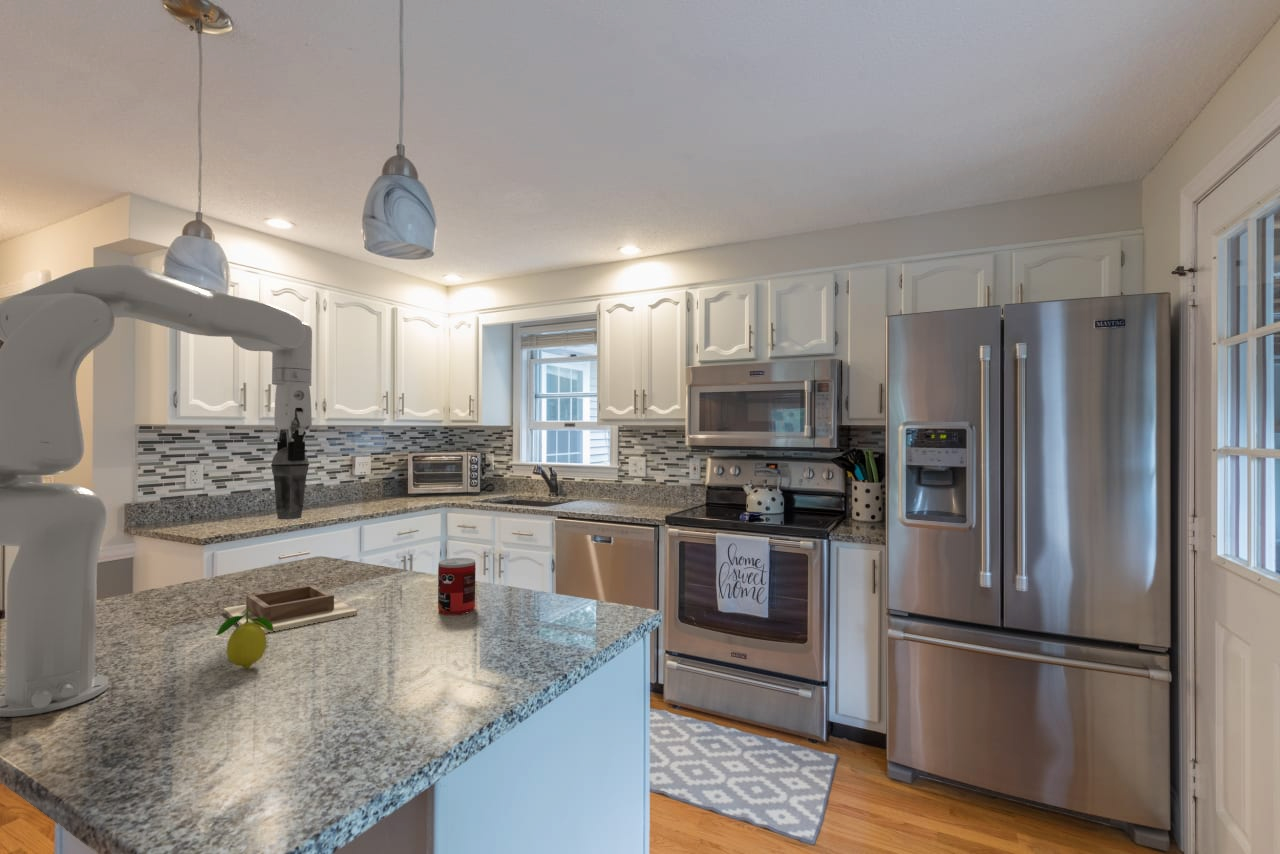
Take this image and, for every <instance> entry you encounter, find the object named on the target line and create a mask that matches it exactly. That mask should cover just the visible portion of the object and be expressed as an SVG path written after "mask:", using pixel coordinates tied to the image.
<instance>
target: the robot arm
mask: <svg viewBox="0 0 1280 854" xmlns="http://www.w3.org/2000/svg"><path fill="white" fill-rule="evenodd" d="M116 318H131V319H135V320H140V321H143V322H147V323H149V324H150V323H151V324H154V325H159V326H162V327H166V328H169V329H173V330H176V331H180V332H183V333H187V334H191V335H196V336H205V337H224V338H225V337H226V338H229V337H230V339H231V340H232V341H233V342H234V343H235V345H236V346H238V347H239V348H241V349H244V350H247V351H251V352H270V353H272V355H271V356H272V358H271V359H272V360H271V361H272V364H271V365H272V367H271V385H274V386H275V398H274V427H275V428H276V429H277V439H276V440H277V442H276V448H277V449H276V453H277V452H278V451H279V450H280V449H282V448H285V447H287V434H286V430H287V429H288V431H289V439H290V442H288V461H304V460H305V454H306V430H310V429H311V428H312V427H313V425H312V423H313V421H312V400H311V399H312V398H311V388H310V387H311V386H312V372H313V371H312V369H313V368H312V364H313V363H312V362H313V361H312V360H313V357H312V355H313V354H312V353H313V329H312V327H311V326H310V324H308V323H305V322H302V320H301V319H300V318H299V317H298V316H297V315H296V314H294V313H292V312H290V311H288V310H285V309H282V308H280V307H278V306H274V305H271V304H268V303H266V302H265V303H264V302H262V301H257V300H254V299H253V300H252V299H248V298H244V297H243V298H242V297H239V296H234V295H230V294H225V293H222V292H215V291H211V290H208V289H203V288H200V287H198V286H195V285H192V284H189V283H186V282H184V281H181V280H178V279H175V278H173V277H170V276H167V275H164V274H161V273H159V272H156V271H152V270H150V269H146V268H144V267H141V266H137V265H130V264H116V265H115V264H114V265H113V264H111V265H101V266H92V267H91V266H90V267H85V268H81V269H78V270H74V271H72V272H70V273H67V274H64V275H62V276H59V277H57V278H54V279H53V280H52V279H51V280H50V281H47V282H45V283H43V284H40V285H38V286H35V287H32V288H31V289H28V290H25V291H23V292H21V293H18V294H15V295H13V296H11V297H8V298H7V299H5V300H3V301H2V302H1V303H0V341H2V342H3V344H2V345H1V347H0V546H4V547H5V546H6V547H8V546H9V547H19V548H18V551H17V553H16V555H15V557H14V560H13V562H12V565H11V567H10V570H9V574H8V577H7V582H6V583H7V585H6V624H5V626H6V628H5V629H6V630H5V631H6V633H5V636H6V637H5V640H6V641H5V669H4V670H5V676H4V681H5V682H4V683H5V684H4V692H2V693H1V694H0V717H5V718H6V717H7V718H10V717H13V718H15V717H24V716H25V717H26V716H31V715H32V716H33V715H38V714H43V713H49V712H54V711H57V710H61V709H65V708H69V707H72V706H75V705H78V704H81V703H83V702H86V701H88V700H91V699H94V698H95V697H97V696H99V695H101V694H102V693H103V692H105V691H106V690H107V689H108V686H109V678H108V677H107V676H106V675H104V674H100V673H99V674H98V673H96V644H97V641H96V640H97V639H96V638H97V635H96V634H97V594H98V593H97V591H98V589H97V588H98V586H97V585H98V584H97V583H98V580H97V578H98V562H99V553H100V547H101V543H102V539H103V536H104V531H105V529H106V524H107V523H106V522H107V509H106V506H105V504H104V501H103V500H102V499H101V497H100V496H99V495H98V494H97V493H95V491H92V490H90V489H88V488H87V487H84V486H80V485H76V484H71V483H60V482H59V483H58V482H57V483H55V482H43V479H42V476H55V475H59V474H63V473H66V472H69V471H71V470H72V469H74V468H76V466H78V465H79V464H80V463H81V461H82V459H83V456H84V452H85V443H84V441H85V440H84V435H83V429H82V422H81V421H82V420H81V416H80V409H79V408H80V407H79V403H78V402H79V401H78V396H77V395H78V394H77V383H76V382H77V375H78V370H79V368H80V366H81V364H82V362H84V359H85V358H87V356H88V355H89V354H90V353H91V352H92V351H93V350H94V349H96V348H97V347H99V346H100V345H102V344H103V343H104V342H106V341H107V340H108V338H110V336H111V335H112V333H113V331H114V327H115V319H116Z"/></svg>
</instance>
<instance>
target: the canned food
mask: <svg viewBox="0 0 1280 854" xmlns="http://www.w3.org/2000/svg"><path fill="white" fill-rule="evenodd" d="M437 565H438V570H437V573H438V575H437V577H438V578H437V579H438V580H437V581H438V582H437V609H438V612H439V613H440V614H442V615H446V614H459V615H463V614H462V613H465V614H467V613H466V612H469V613H471V612H473V611H474V609H475V608H476V607H475V606H476V559H473V558H469V557H453V558H452V557H451V558H445V559H443V560H442V559H441V560H439V561H438V564H437ZM472 610H473V611H472ZM470 611H471V612H470Z"/></svg>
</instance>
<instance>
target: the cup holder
mask: <svg viewBox="0 0 1280 854" xmlns="http://www.w3.org/2000/svg"><path fill="white" fill-rule="evenodd" d="M245 596H246V602H245V604H240V605H235V606H229V607H223V611H222V613H223V614H224V615H225V614H226V615H227V616H226V615H225V616H226V617H228V619H229V618H231V617H234V616H244V615H245V614H246V613H247V608H248V617H249V618H251V619H254V618H266V619H267V620H269V621H270V622H271V624H272V625H273V630H274V631H275V632H279V630H280V631H285V630H290V629H294V627H295V628H298V627H299V626H300V627H304V625H305V626H309V625H308V624H310V625H314V624H313V623H315V624H318V622H320V623H324V622H327V621H328V622H329V621H334V620H338V618H339V619H343V618H342V617H344V618H349V617H354V616H357V615H358V610H357V608H354V607H352V606H349V605H348V604H346V603H345V602H342V601H341V600H338V599H336V598H335V595H334V594H332V593H330V592H328V591H326V590H324V589H323V588H320V587H318V586H317V585H315V584H309V585H303V586H297V587H290V588H284V589H279V590H272V591H266V592H260V593H253V594H248V595H245ZM246 615H247V614H246ZM246 615H245V616H244V617H243V618H242V619H240V620H239V621H238V622H237V624H238V625H239V626H241V625H243V624H244V623H245V622H246ZM353 615H354V616H353ZM348 616H349V617H348ZM249 618H248V621H249V622H251V623H254V622H253V621H252V620H251V619H249ZM237 624H236V625H237ZM238 625H237V626H238ZM239 626H238V627H239ZM300 627H299V628H300ZM261 628H262V627H261ZM289 628H290V629H289ZM262 629H263V631H264V633H265V634H269V633H268V632H270V633H274V632H273V631H270V630H267V629H264V628H262ZM284 629H285V630H284Z"/></svg>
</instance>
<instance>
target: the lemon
mask: <svg viewBox="0 0 1280 854" xmlns="http://www.w3.org/2000/svg"><path fill="white" fill-rule="evenodd" d="M246 614H247V615H246ZM246 614H245V615H246V622H245V623H244V624H243V625H241V626H238V627H236V628H235V629H234V630H233V631H232V633H231V635H230V636H229V639H228V640H227V645H226V655H227V658H228V660H229V662H230V663H231V664H232V665H235V666H237V667H239V666H240V667H243V668H244V669H245V670H246V669H249V668H250V667H251V666H252V665H253V664H254V663H256V662H258V661H259V660H261V659H262V657H263V655H265V651H266V649H267V648H266V647H267V637H266V633H264V631H263V629H262V628H264V629H267V630H270V631H274V630H273V625H272V624H271V622H270V621H269V620H267V619H266V618H254V619H251V618H249V617H248V608H247V613H246ZM245 615H244V616H245ZM244 616H234V617H231V618H229V617H228V618H227V619H226V620H225V621H224V622H223V623H222V624H221V625H220V628H219V629H218V630H217V633H216V636H219V635H220V636H221V635H222V634H223V633H225V632H226V631H227V630H229V629H230V628H232V627H233V626H234V625H237V624H236V623H237V622H238V621H239V620H240V619H242V618H243V617H244ZM248 618H249V619H251V620H252V621H253V622H254V623H251V622H249V621H248ZM261 627H262V628H261Z"/></svg>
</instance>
